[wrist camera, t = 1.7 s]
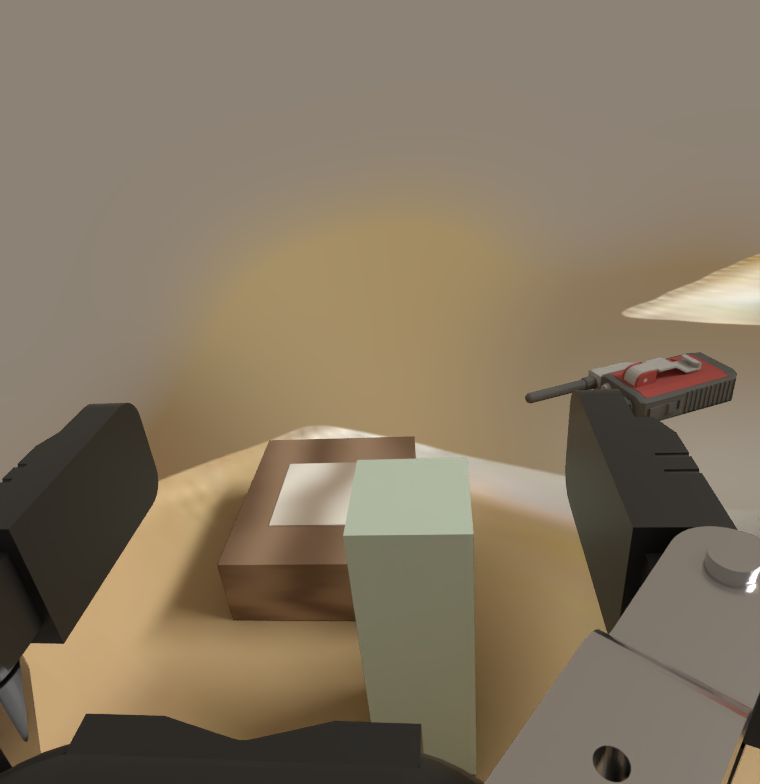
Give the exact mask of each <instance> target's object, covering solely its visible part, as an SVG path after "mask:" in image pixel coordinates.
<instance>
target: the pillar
mask: <svg viewBox="0 0 760 784" xmlns="http://www.w3.org/2000/svg"><path fill="white" fill-rule="evenodd" d="M343 538H344V545H345V551H346V558H347V565H348V571H349V578H350V585H351V592H352V598H353V605H354V612H355V618H356V625H357V632H358V639H359V645H360V652H361V659H362V665H363V672H364V679H365V685H366V692H367V699H368V706H369V712H370V719H371V722H379V723H412V724H421V726H422V739H423V751H424V753H425V754H428V755H431V756H434V757H437V758H440V759H443V760H445V761H447V762H449V763H451V764H453V765H455V766H458V767H460V768H462V769H463V770H465V771H467V772H468V773H470V774H475V775H477V766H476V689H475V611H474V534H473V522H472V510H471V498H470V486H469V474H468V462H467V457H461V458H421V459H380V460H357V464H356V469H355V474H354V480H353V485H352V491H351V496H350V501H349V507H348V512H347V518H346V523H345V528H344V534H343Z"/></svg>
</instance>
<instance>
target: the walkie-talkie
mask: <svg viewBox="0 0 760 784" xmlns="http://www.w3.org/2000/svg"><path fill="white" fill-rule="evenodd" d="M736 375H737V374H736V372H735V371H734V370H733V369H732V368H730V367H728V366H726V365H724V364H722V363H720V362H718V361H716V360H714V359H712V358H710V357H708V356H706V355H704V354H702V353H687V354H683V355H679V356H675V357H671V358H667V359H664V358H662V357H659V358H655V359H652V360H648V361H645V363H642V362H639V363H631V362H622V363H619V364H614V365H611V366H606V367H602V368H595V369H590V370H589V376H588V377H585V378H582V379H581V380H579V381H575V382H572V383H567V384H563V385H559V386H555V387H552V388H548V389H543V390H540V391H536V392H532V393H528V394H527V395H526V396H525V399H526V401H527V402H528V403H534V402H537V401H541V400H545V399H549V398H553V397H557V396H561V395H565V394H569V393H572V392H573V391H574V390H590V389H594V390H599V389H619V390H620V391H621V392H622V394H623V396H624V398H625V400H626V402H627V403H628V405H629V407H630V409H631V411H632V413H633V414H634V416H635V417H651V416H653V417H654V418H656V419H657V420H659V421H661V420H665V419H668V418H672V417H676V416H679V415H682V414H686V413H689V412H693V411H696V410H700V409H704V408H707V407H711V406H714V405H718V404H722V403H725V402H728V401H731V399H732V395H733V390H734V386H735V381H736Z"/></svg>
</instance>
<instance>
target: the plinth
mask: <svg viewBox="0 0 760 784" xmlns="http://www.w3.org/2000/svg"><path fill="white" fill-rule="evenodd" d="M380 459H416V454H415V439H414V437H380V438H344V439H308V440H273V441H269V443H268V445H267V448H266V450H265V452H264V455H263V457H262V459H261V462H260V464H259V467H258V469H257V471H256V474H255V476H254V479H253V481H252V483H251V486H250V488H249V491H248V493H247V495H246V498H245V500H244V502H243V505H242V507H241V510H240V512H239V514H238V517H237V519H236V522H235V524H234V526H233V529H232V531H231V534H230V536H229V538H228V541H227V543H226V545H225V548H224V550H223V553H222V555H221V557H220V560H219V562H218V569H219V572H220V576H221V579H222V583H223V586H224V590H225V593H226V597H227V600H228V604H229V607H230V611H231V614H232V617H233V620H355V621H356V618H355V612H354V605H353V598H352V592H351V585H350V578H349V571H348V565H347V558H346V551H345V545H344V538H343V534H344V528H345V523H346V518H347V512H348V507H349V501H350V496H351V491H352V485H353V480H354V474H355V469H356V464H357V460H380Z"/></svg>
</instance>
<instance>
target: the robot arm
mask: <svg viewBox="0 0 760 784" xmlns="http://www.w3.org/2000/svg"><path fill="white" fill-rule="evenodd" d="M565 474H566V488H567V495H568V499H569V503H570V507H571V510H572V513H573V517H574V520H575V524H576V527H577V530H578V534H579V537H580V541H581V544H582V548H583V551H584V554H585V558H586V561H587V565H588V568H589V571H590V575H591V578H592V582H593V585H594V589H595V592H596V595H597V599H598V602H599V606H600V609H601V612H602V616H603V619H604V623H605V626H606V630H607V633H608V634H606V633H604V632H603V631H601V630H594V631H593V632H591V633H590V634H589V635H588V636H587V637H586V638H585V640H584V641H583V642H582V644H581V645H580V647H579V648H578V649H577V651H576V652H575V654H574V655H573V657H572V658H571V659H570V661H569V662H568V664H567V665H566V667H565V668H564V669H563V671H562V672H561V674H560V675H559V677H558V678H557V680H556V681H555V682H554V684H553V685H552V687H551V688H550V690H549V691H548V692H547V694H546V695H545V697H544V698H543V700H542V701H541V702H540V704H539V705H538V707H537V708H536V710H535V711H534V712H533V714H532V715H531V717H530V718H529V720H528V721H527V722H526V724H525V725H524V727H523V728H522V730H521V731H520V733H519V734H518V735H517V737H516V738H515V740H514V741H513V743H512V744H511V745H510V747H509V748H508V750H507V751H506V753H505V754H504V755H503V757H502V758H501V760H500V761H499V763H498V764H497V765H496V767H495V768H494V770H493V771H492V773H491V774H490V776H489V777H488V778H487V780H486V781H485V783H484V782H482V781H481V780H479V779H478V778H476V777H475V776H473V775H471V774H470V773H468V772H467V771H465V770H463V769H462V768H460V767H458V766H455V765H453V764H451V763H449V762H447V761H445V760H443V759H440V758H437V757H434V756H431V755H428V754H425V753H424V751H423V739H422V726H421V724H412V723H379V722H346V721H333V722H329V723H324V724H320V725H315V726H311V727H306V728H302V729H297V730H293V731H288V732H283V733H279V734H274V735H270V736H265V737H261V738H256V739H252V740H236V739H232V738H229V737H226V736H223V735H220V734H217V733H214V732H211V731H208V730H205V729H202V728H199V727H196V726H193V725H190V724H187V723H184V722H181V721H178V720H175V719H172V718H169V717H166V716H147V715H114V714H86V715H85V717H84V719H83V721H82V723H81V724H80V726H79V728H78V730H77V732H76V734H75V736H74V737H73V739H72V741H71V743H70V744H68V745H64V746H61V747H58V748H55V749H53V750H50V751H47V752H44V753H41V751H40V744H39V736H38V729H37V721H36V714H35V707H34V699H33V692H32V684H31V677H30V670H29V666H28V664H27V662H26V660H25V658H24V656H23V653H24V652H25V650H26V649H27V647H28V646H29V645H30V643H56V644H64V643H65V641H66V640H67V638H68V636H69V635H70V633H71V632H72V630H73V629H74V627H75V625H76V624H77V622H78V621H79V619H80V618H81V616H82V614H83V613H84V611H85V610H86V608H87V607H88V605H89V603H90V602H91V600H92V599H93V597H94V596H95V594H96V592H97V591H98V589H99V588H100V586H101V585H102V583H103V582H104V580H105V578H106V577H107V575H108V574H109V572H110V571H111V569H112V567H113V566H114V564H115V563H116V561H117V560H118V558H119V556H120V555H121V553H122V552H123V550H124V549H125V547H126V545H127V544H128V542H129V541H130V539H131V538H132V536H133V535H134V533H135V531H136V530H137V528H138V527H139V525H140V524H141V522H142V520H143V519H144V517H145V516H146V514H147V513H148V511H149V509H150V508H151V506H152V505H153V503H154V501H155V498H156V495H157V490H158V474H157V469H156V466H155V463H154V460H153V456H152V454H151V451H150V447H149V444H148V441H147V437H146V434H145V431H144V428H143V425H142V421H141V418H140V415H139V413H138V411H137V409H136V408H135V406H134V405H132V404H130V403H109V404H89V405H87V406H86V407H85V408H84V409H82V410H81V411H80V412H79V414H78V415H76V416H75V417H74V418H73V419H72V420H71V421H70V422H69V423H68V424H67V425H66V426H65V427H64V428H63V429H62V430H61V431H60V432H59V433H57V434H56V435H54V436H52V437H51V438H49V439H47V440H45V441H44V442H42V443H41V444H39V445H37V446H36V447H35V448H34V449H33V450H32V451H30V452H29V453H28V454H27V455H26V456H25V457H24V458H23V459H22V460H21V461H20V462H19V463H18V467H17V468H13V469H12V470H11V471H10V472H9V473H8V474H7V475H6V476H5V477H4V478H3V482H2V483H0V784H732V782H733V779H734V777H735V774H736V772H737V769H738V766H739V764H740V761H741V758H742V756H743V753H744V751H745V748H746V745H750V746H753V747H756V748H759V749H760V538H758V537H755V536H753V535H750V534H748V533H745V532H742V531H739V530H737V528H736V527H735V525H734V523H733V522H732V520H731V519H730V517H729V515H728V514H727V512H726V511H725V509H724V508H723V506H722V504H721V503H720V501H719V500H718V498H717V496H716V495H715V493H714V492H713V490H712V489H711V487H710V485H709V484H708V482H707V481H706V479H705V477H704V476H703V474H702V473H699V468H698V467H697V465H696V463H695V462H694V460H693V459H692V457H691V456H690V457H689V452H688V451H687V449H686V447H685V446H684V444H683V443H682V441H681V439H680V438H679V437H678V435H677V433H676V432H674V431H673V430H672V429H670V428H669V427H667V426H666V425H664V424H663V423H661V422H660V421H659V420H657V419H656V418H654V417H653V416H651V417H635V416H634V414H633V413H632V411H631V409H630V407H629V405H628V403H627V402H626V400H625V398H624V396H623V394H622V392H621V391H620V390H619V389H599V390H574V391H573V393H572V396H571V402H570V413H569V426H568V439H567V452H566V466H565Z"/></svg>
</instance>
